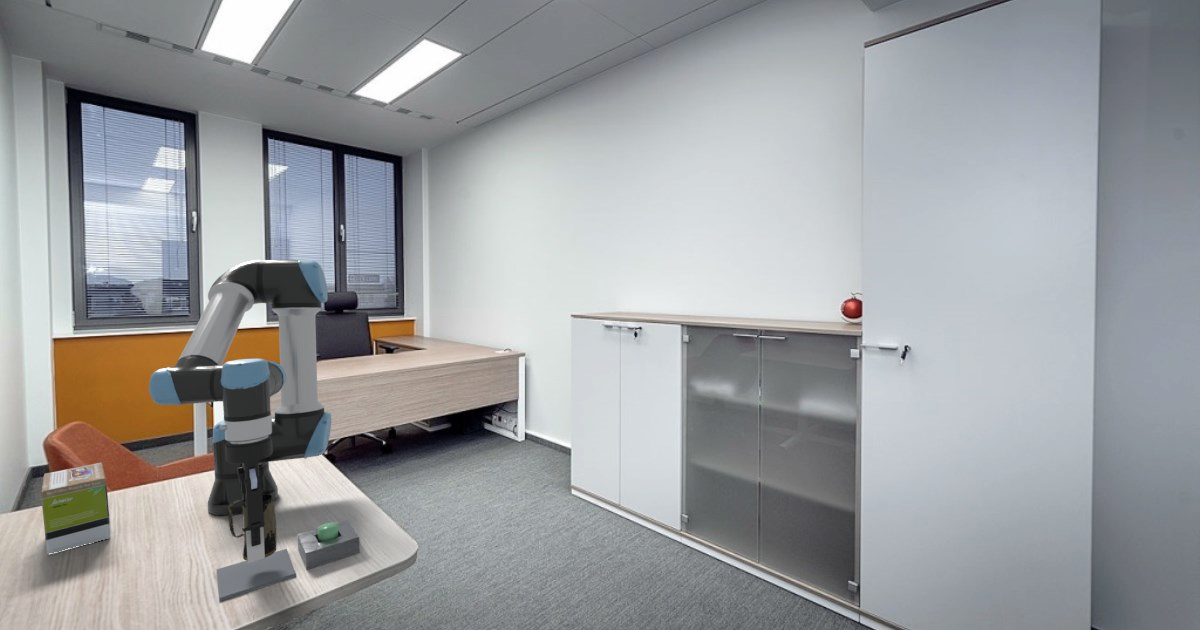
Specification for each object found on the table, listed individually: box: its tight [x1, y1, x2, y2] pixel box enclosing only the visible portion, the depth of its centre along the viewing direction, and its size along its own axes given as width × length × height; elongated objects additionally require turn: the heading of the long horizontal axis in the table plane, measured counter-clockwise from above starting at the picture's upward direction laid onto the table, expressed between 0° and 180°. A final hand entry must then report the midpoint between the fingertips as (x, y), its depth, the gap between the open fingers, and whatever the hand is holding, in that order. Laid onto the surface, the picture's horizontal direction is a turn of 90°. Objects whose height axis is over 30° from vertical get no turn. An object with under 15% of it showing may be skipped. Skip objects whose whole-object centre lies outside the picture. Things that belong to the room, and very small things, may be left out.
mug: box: [227, 494, 278, 561], centre depth 97 cm, size 8×6×12 cm
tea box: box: [40, 462, 111, 555], centre depth 113 cm, size 15×10×15 cm, turn 47°
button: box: [317, 521, 338, 543], centre depth 106 cm, size 4×4×3 cm
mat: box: [216, 548, 297, 602], centre depth 98 cm, size 12×12×1 cm
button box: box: [297, 520, 361, 571], centre depth 106 cm, size 10×10×4 cm
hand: (254, 553), depth 98 cm, fingers closed on mug, 5 cm apart
